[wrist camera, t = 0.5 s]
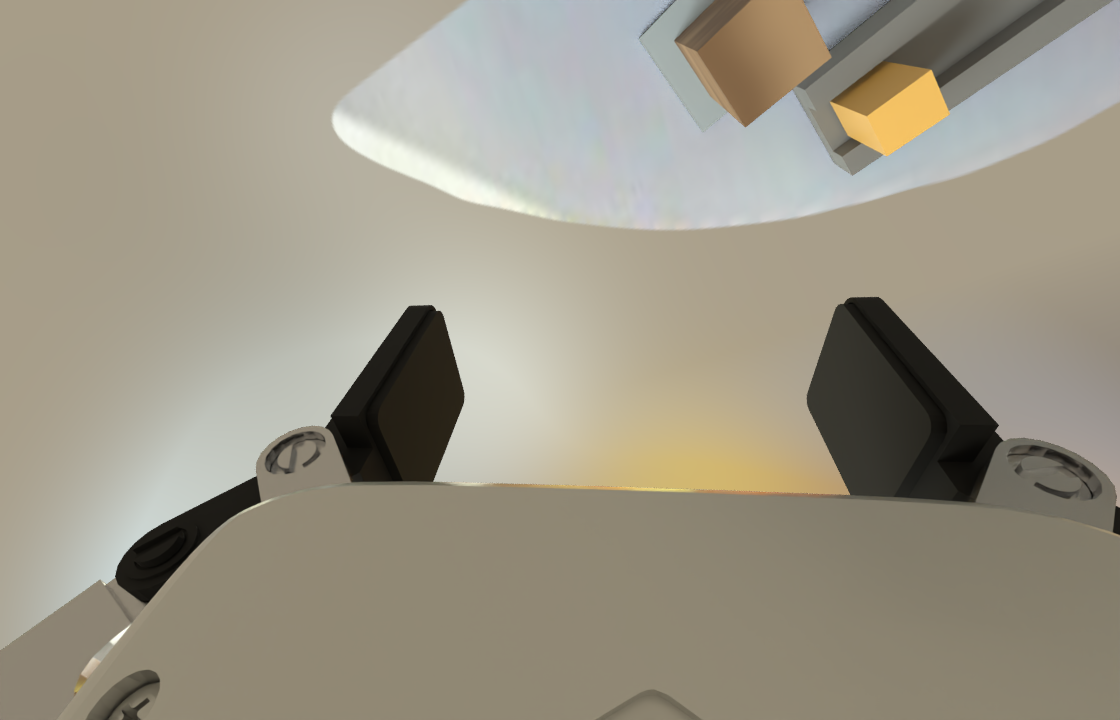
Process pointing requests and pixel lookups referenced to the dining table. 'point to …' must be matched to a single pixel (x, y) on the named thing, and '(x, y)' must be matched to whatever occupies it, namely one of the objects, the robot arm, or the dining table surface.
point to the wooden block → (752, 52)
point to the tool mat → (681, 60)
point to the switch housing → (934, 54)
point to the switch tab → (890, 106)
